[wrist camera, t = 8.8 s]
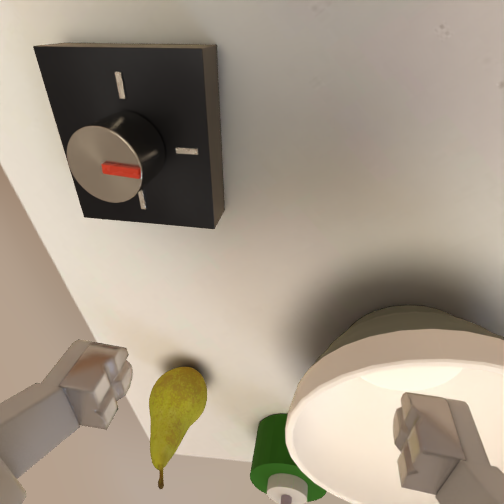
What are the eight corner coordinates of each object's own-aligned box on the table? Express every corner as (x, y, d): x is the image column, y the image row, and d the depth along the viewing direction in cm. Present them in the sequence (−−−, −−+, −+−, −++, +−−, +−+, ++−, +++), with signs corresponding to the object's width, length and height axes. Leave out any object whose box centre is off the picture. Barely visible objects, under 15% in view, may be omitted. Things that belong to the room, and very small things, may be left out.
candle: (268, 405, 40) (252, 505, 32) (337, 427, 40) (340, 532, 32) (251, 440, 45) (234, 534, 37) (313, 459, 45) (310, 558, 37)
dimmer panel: (64, 42, 22) (30, 46, 20) (216, 44, 21) (201, 48, 18) (104, 200, 29) (82, 218, 26) (224, 210, 27) (214, 230, 25)
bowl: (304, 407, 39) (298, 505, 31) (283, 263, 29) (266, 355, 21) (504, 420, 35) (556, 538, 27) (564, 254, 24) (676, 367, 16)
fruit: (157, 373, 41) (103, 488, 31) (174, 346, 37) (119, 464, 27) (202, 394, 41) (163, 512, 31) (222, 369, 38) (185, 492, 28)
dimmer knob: (105, 175, 24) (72, 199, 21) (94, 106, 21) (54, 122, 18) (168, 184, 23) (143, 210, 20) (163, 115, 21) (134, 133, 18)
